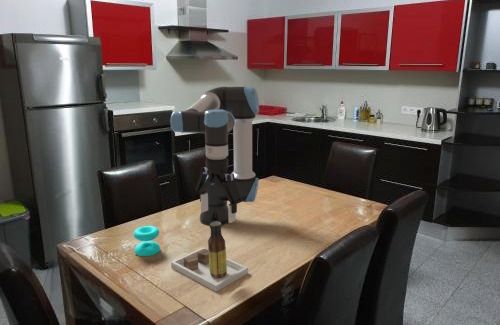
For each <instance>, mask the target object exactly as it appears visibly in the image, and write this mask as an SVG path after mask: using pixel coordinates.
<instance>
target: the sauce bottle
mask: <svg viewBox="0 0 500 325" xmlns="http://www.w3.org/2000/svg"><path fill="white" fill-rule="evenodd" d="M209 228H210V236H209V238H208V241H207V249H208V253H209V268H210V274H211V276H212V277H214V278H222V277H224V276H225V275H226V274H227V261H226V258H227V248H226V240H225V238H224V236H223V235H222V234H223V233H222V225H221V222H217V221H215V222H211V223H210V225H209Z"/></svg>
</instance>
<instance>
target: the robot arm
mask: <svg viewBox="0 0 500 325" xmlns="http://www.w3.org/2000/svg"><path fill="white" fill-rule="evenodd" d="M259 112H260V102H259V95H258V91H257V89H256V88H255V87H251V86H218V87H214V88H212V89H209V90H207V91H205V92H204V93H202V94H201V95H200V97H199V98H198V100H197V101H196V102H195V103H193V104H192V105H191V106H189V107H188V108H187V109H185V110H183V111H182V110H179V111H178V110H177V111H176V110H175V111H172V113H171V116H170V120H169V122H170V128H171V130H172V131H173V132H175V133H181V134H183V133H184V134H185V133H187V134H189V133H190V134H204V140H205V141H204V142H205V144H204V145H205V146H204V147H205V148H204V149H205V157H206V158H205V166H204V167H201V168H200V174H199V176H198V179H197V183H196V186H195V189H194V190H195V192H198V194H199V203H200V212H201V213H200V215H199V222H200V223H201V224H203V225H205V226H210V223H211V222H215V221H217V222H221V226H222V225H227V224H228V223H229V224H231V223H233V222H236V221H237V220H236V219H237V217H236V216H237V215H236V214H237V213H238V204H241V203H253V202H255V201H256V198H257V195H258V194H257V193H258V190H259V189H258V188H259V184H260V183H259V182H260V181H259V179H260V178H258V177H256V173H255V172H254V171H253V121H254V120H255V119H256V115H258V114H259ZM232 130H233V134H232V136H233V139H232V140H233V171H232V172H231V174H230V173H228V168H229V157H228V156H229V133H230V132H231V131H232ZM228 202H229V203H228Z"/></svg>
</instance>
